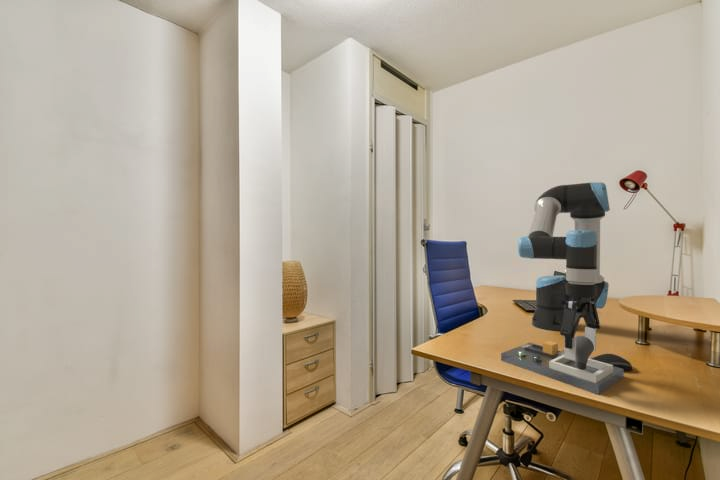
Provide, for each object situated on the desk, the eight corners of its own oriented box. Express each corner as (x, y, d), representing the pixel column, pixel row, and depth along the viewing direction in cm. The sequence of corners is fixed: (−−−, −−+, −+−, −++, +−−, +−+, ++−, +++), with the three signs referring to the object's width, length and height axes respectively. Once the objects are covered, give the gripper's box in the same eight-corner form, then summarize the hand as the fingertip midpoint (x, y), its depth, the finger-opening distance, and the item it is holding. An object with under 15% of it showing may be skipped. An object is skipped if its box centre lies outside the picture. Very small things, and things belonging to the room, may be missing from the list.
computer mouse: (582, 362, 106) (582, 350, 106) (622, 364, 104) (623, 352, 104) (594, 371, 99) (594, 358, 99) (638, 373, 97) (638, 360, 97)
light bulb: (596, 371, 93) (597, 337, 93) (587, 375, 90) (589, 340, 90) (575, 364, 98) (576, 332, 97) (566, 368, 95) (567, 335, 94)
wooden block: (548, 350, 109) (548, 340, 109) (558, 353, 106) (558, 343, 106) (542, 353, 107) (542, 342, 107) (552, 356, 104) (552, 345, 104)
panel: (529, 349, 117) (529, 337, 117) (623, 377, 94) (623, 362, 94) (501, 360, 107) (501, 347, 107) (598, 394, 84) (598, 378, 84)
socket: (567, 358, 102) (567, 352, 102) (613, 372, 92) (613, 365, 92) (549, 367, 95) (549, 361, 95) (595, 383, 85) (595, 375, 85)
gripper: (584, 277, 103) (584, 342, 104) (546, 285, 89) (546, 359, 90) (612, 280, 97) (612, 348, 97) (576, 288, 83) (575, 368, 84)
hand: (580, 354), depth 94 cm, fingers open, 13 cm apart
